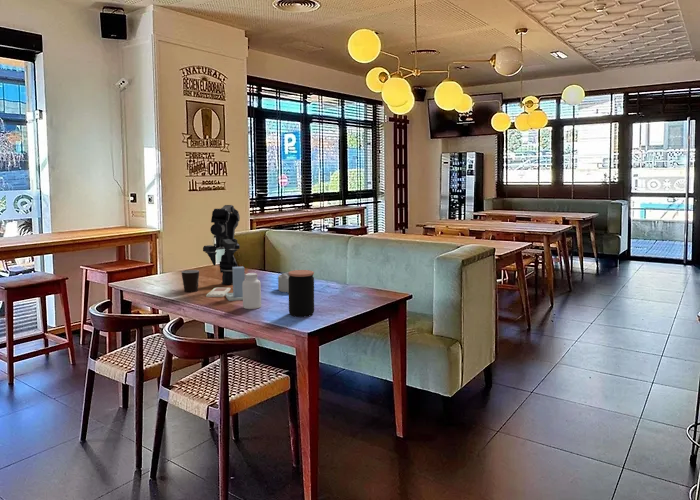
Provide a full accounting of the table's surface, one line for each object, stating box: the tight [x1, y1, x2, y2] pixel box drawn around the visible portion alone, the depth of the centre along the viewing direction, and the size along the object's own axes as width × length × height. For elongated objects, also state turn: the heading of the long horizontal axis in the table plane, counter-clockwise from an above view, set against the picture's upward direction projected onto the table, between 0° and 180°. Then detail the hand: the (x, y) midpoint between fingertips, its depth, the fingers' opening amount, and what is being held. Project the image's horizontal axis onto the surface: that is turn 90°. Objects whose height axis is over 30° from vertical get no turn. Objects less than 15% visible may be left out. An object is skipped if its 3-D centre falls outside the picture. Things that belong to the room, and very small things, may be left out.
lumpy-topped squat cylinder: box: [277, 271, 290, 294], centre depth 281 cm, size 10×13×9 cm
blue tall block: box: [232, 265, 246, 298], centre depth 264 cm, size 5×5×14 cm
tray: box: [224, 292, 243, 302], centre depth 265 cm, size 12×12×1 cm
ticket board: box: [205, 287, 231, 298], centre depth 274 cm, size 16×8×1 cm, turn 0°
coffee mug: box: [181, 269, 200, 293], centre depth 280 cm, size 12×9×10 cm
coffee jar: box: [287, 269, 315, 318], centre depth 234 cm, size 11×11×18 cm
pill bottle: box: [242, 272, 262, 310], centre depth 245 cm, size 8×8×15 cm
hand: (222, 264), depth 281 cm, fingers open, 9 cm apart
